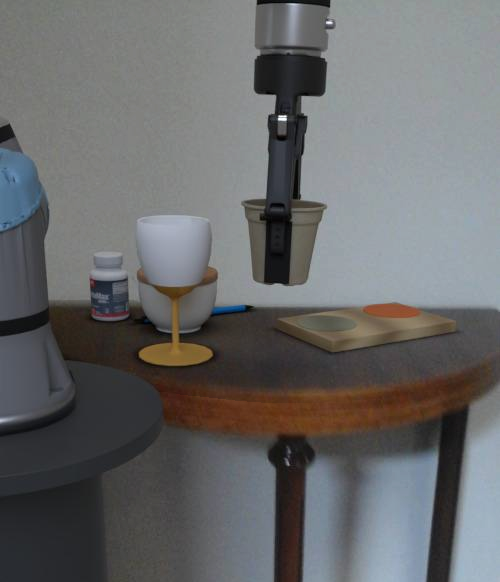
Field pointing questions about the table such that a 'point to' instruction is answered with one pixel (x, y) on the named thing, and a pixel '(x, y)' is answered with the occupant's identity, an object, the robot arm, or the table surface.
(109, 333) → the table surface
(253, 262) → the flower pot
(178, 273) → the cup
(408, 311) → the circle
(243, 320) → the table surface
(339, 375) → the table surface
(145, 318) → the pen
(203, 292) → the trinket box
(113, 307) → the pill bottle
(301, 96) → the robot arm
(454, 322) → the board
